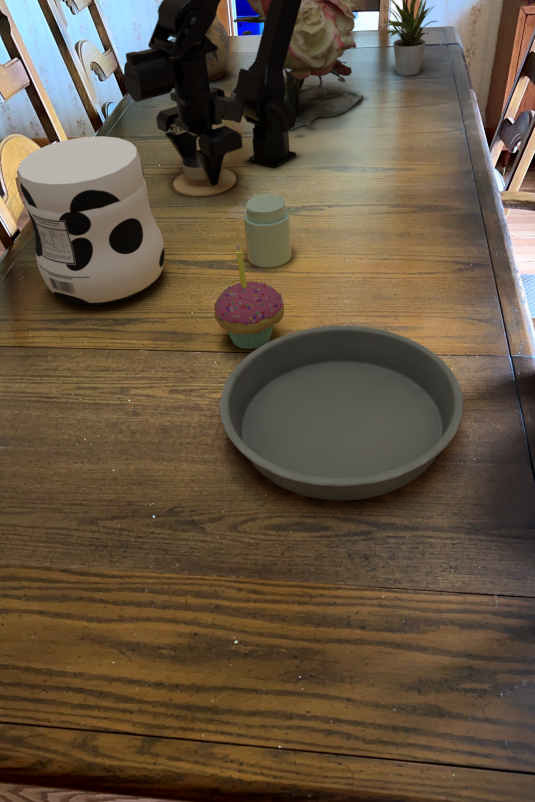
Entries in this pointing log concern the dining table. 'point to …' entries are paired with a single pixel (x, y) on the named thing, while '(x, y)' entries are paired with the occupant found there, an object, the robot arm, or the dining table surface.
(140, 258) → the milk container
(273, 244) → the jar
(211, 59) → the ceramic vessel
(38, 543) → the dining table surface
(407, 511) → the dining table surface
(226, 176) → the coaster
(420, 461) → the cake pan
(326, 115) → the rose bouquet
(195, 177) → the lid
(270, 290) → the cupcake
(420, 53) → the house plant
